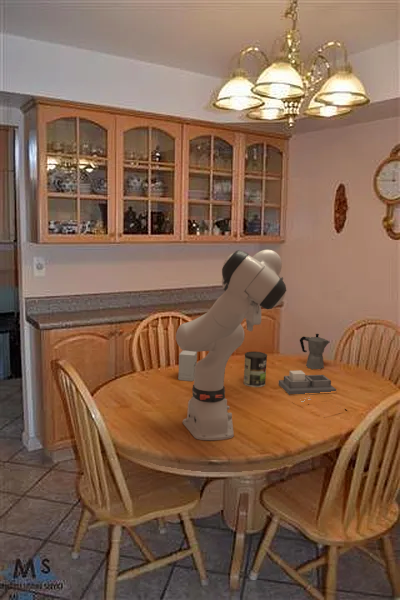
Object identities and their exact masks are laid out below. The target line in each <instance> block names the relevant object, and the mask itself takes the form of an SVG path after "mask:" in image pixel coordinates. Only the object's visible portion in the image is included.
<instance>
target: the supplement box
mask: <svg viewBox="0 0 400 600" xmlns="http://www.w3.org/2000/svg"><path fill="white" fill-rule="evenodd" d="M197 359H198V352H193V351H186V350H181V352H179V354H178V376H177V377H178V380H179V381H185V382H194V369H195V366H196V364H197V363H198V360H197Z"/></svg>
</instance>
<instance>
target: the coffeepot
mask: <svg viewBox="0 0 400 600" xmlns="http://www.w3.org/2000/svg"><path fill="white" fill-rule="evenodd" d="M319 336H320V334H319V333H315V336H312V337H311V336H305V335H304V336H301V338H300V339H299V343H300V347H301V350H302V352H303V353H307V352H309V353H308V357H307V360H306V363H305V366H307V367H308V368H307V367H306V368H307V369H309V368H311V369H310V370H313V369H321V368H323V369H325V366H324V365H325V364H324V356H323V354H324V351H325V348H326V347H327V345H328V344H330V343H331V342H330V340H327V339H325V338H323V337H319ZM304 341H306V342H307V344H308V350H306V349H305V344H304Z"/></svg>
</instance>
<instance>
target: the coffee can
mask: <svg viewBox="0 0 400 600" xmlns="http://www.w3.org/2000/svg"><path fill="white" fill-rule="evenodd" d="M267 360H268V354H267V353H265V352H261V351H248V352H247V351H246V352H245V353H244V364H243V366H244V370H243V385H244V386H247V387H250V388H263V387H264V386H266V379H267Z"/></svg>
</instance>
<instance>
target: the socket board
mask: <svg viewBox="0 0 400 600" xmlns="http://www.w3.org/2000/svg"><path fill="white" fill-rule="evenodd" d="M277 384H278V386H280V388H281V389H282V388H283V389H284V390H285V391H286V392H287V393H288V394H289V395H288V394H287V393H286V392H285V391H284V390H283V389H282V390H283V391H284V392H285V393H286V394H287V395H288V396H291V395H290V394H305V393H320V392H331V391H336V392H337V388H335V387H334V386H333V385H332V381H331V379H330V378H328V377H327V376H326V375H324V374H309V375H308V374H305V381H291V380H290V379H289V375H283V379H279V380H278V383H277Z"/></svg>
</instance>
